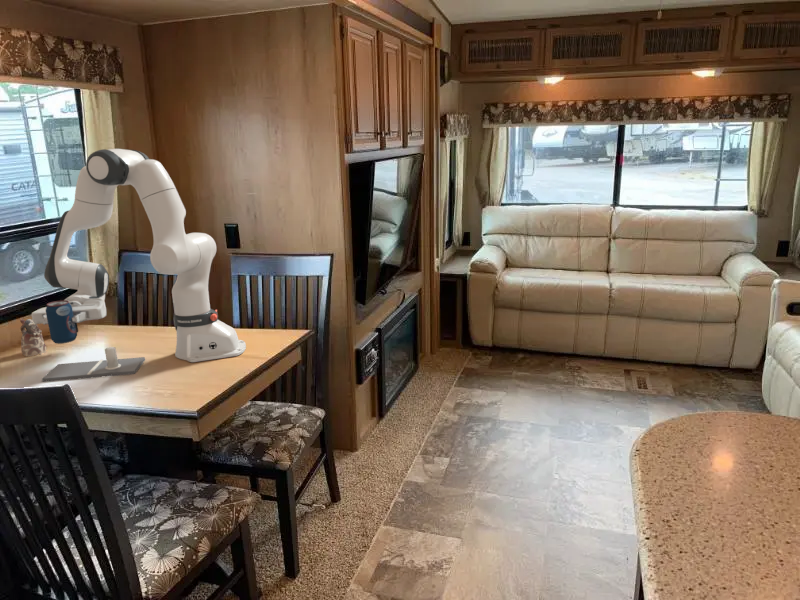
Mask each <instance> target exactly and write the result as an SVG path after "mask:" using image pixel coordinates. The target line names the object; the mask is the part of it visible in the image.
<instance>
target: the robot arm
mask: <svg viewBox="0 0 800 600" xmlns="http://www.w3.org/2000/svg"><path fill="white" fill-rule="evenodd" d="M128 185H129V186H132V187H133V188H134V189H135V191H136V193H137V195H138V197H139V200H140V202H141V204H142V207H143V208H144V211H145V213H146V215H147V218H148V220H149V223H150V225H151V226H150V227H151V230H152V237H153V238H152V240H153V245H152V247H151V248H152V249H151V251H150V254H149V258H150V260H149V261H150V264H151V266H152V267H153V269H154V270H155V271H156V272H158V273H159V274H160V275H161V274H162V275H177V276H176V281H175V283H174V284H173V286H172V288H171V294H172V295H171V296H172V303H173V310H174V313H173V325H174V329H175V332H176V346H175V354H174V356H175V358H177V359H179V360H185V361H187V362H190V363H196V362H198V363H199V362H204V361H210V360H216V359H217V360H218V359H223V358H232V357H238V356H240V355H241V354H243V353H245V351H246V348H247V345H246V344H247V343H246V341H244V340H243V339H239V337H238V333H237V331H236V329H235V328H233V327H232V326H230V325H228V324H226V323H225V322H223V321H221V320H220V319H219V314H218V309H215V310H214V309H213V308H211V304H210V292H209V280H210V273H211V266H212V263H213V260H214V259H215V257H216V253H217V248H218V247H217V244H216V241H215V239H214V238H213V237H212V236H211V235H209V234H208V233H205V232H190V233H186V231H185V224H184V223H185V218H186V216H187V215H186V214H187V210H186V207H185V205H184V203H183V201H182V198H181V196H180V195H179V192H178V189H177V188H176V185H175V183H174V181H173V180H172V178H171V177H170V174H169V172H168V171H167V169H165V167H164V166H163V164H162V163H161V162H160V161H159V160H156V159H153V158H152V159H151V158H149V156H148V155H146V154H145V153H144V152H142V151H140V150H136V149H124V148H108V149H106V148H105V149H103V148H102V149H99V150H96V151H94V152H91V153H90V154H89V156H88V157H87V158H86V163H85V165H84V166H83V167H82V168H81V169H80V171H79V174H78V176H77V181H76V185H75V193H74V200H73V201H74V202H73V205H72V206H71V207H70V209H69V210H66V211H64V212H63V214H62V215H61V217H60V219H59V221H58V225H57V229H56V232H55V234H54V235H55V236H54V239H53V244H52V247H51V251H50V256H49V258H48V260H47V263H46V266H45V268H44V272H43V275H44V276H43V277H44V279H45V281H46V282H47V283H48V285H50V286H51V287H52V288H59V289H70V290H77V291H76V292H75V293H73V294H71V295H69V296H68V297H66V298H65V299H64V300H66V301H69V304H70V305H71V306H72V310H73V315H74V316H72V322H75V323H77V324H78V323H83V322H85V321H93V320H101V319H103V318H105V317H107V307H106V302H105V300H106V294H107V291H108V289H109V285H110V275H109V272H108V270H107V269H106V268H105V266H104V265H103V264H102V263H96V262H92V261H91V262H90V261H83V260H77V259H72V258H70V257H68V253H69V249H70V247H71V246H70V245H71V242H72V241H71V240H72V239H73V236H74V234H75V232H78V231H82V230H89V229H95V228H98V227H101V226H104V225H105V224H107V223H108V222H109V221H110V219H111V218H112V216H113V211H114V210H113V209H114V202H115V201H114V199H115V191H116V189H117V187H118V186H128ZM46 308H47V306H45V307H40V308H38V309H37V310H35V311H33V312H31V319H32V320H33V322H34V323H35V324H37V325H39V324H40V325H41V324H43V326H45V325H48V320H47V315H46Z"/></svg>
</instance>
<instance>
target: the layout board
mask: <svg viewBox="0 0 800 600" xmlns="http://www.w3.org/2000/svg"><path fill="white" fill-rule="evenodd" d="M104 354H105V359H106V360H104V359H99V360H93V361H92V360H91V361H81V362H78V361H77V362H69V363H68V362H67V363H57V365H56V366H55V367H53V368H52V369H51V370H50V371H49V372H48V373H47V374H46V375H44V376H43V377H42V379H41V381H42V382H43V383H46V382H55V381H68V380H69V379H70V380H79V379H78V378H81V379H91V377H93V378H102V376H105V377H114V376H125V375H127V376H128V375H136V373H137V371H138V370H139V369H140V368H141V367H142V366H143V364H144V362H145V361H146V358H145V357H144V356H141V357H129V358H118V355H117V350H116V347H115V346H109V347H106V348H104Z"/></svg>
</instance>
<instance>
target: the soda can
mask: <svg viewBox="0 0 800 600" xmlns="http://www.w3.org/2000/svg"><path fill="white" fill-rule="evenodd" d="M46 307H47V308H46V315H47V320H48V324H47V325H48V329H49V336H50V340H51V341H52V342H53V343H54V344H56V345H57V344H58V345H61V344H63V345H65V344H68V343H72V342H74V341H75V340H76V339H77V336H78V332H77V331H76V326H75V322H72V316H74V315H73V310H72V306H71V305H70V304H69V301H66V300H65V299H63V300H62V299H61V300H56V301H51V302H48V303H46Z"/></svg>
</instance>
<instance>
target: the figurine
mask: <svg viewBox="0 0 800 600" xmlns="http://www.w3.org/2000/svg"><path fill="white" fill-rule="evenodd" d="M20 323H21V324H22V325H21V326H20V333H22V335H21V342H20V345H21V347H20V348H21V353H22V355H23V356H24V355H25V356H24V357H33V356H34V355H35V356H39V355H38V354H40V355H43V354H45V353H46V352H47V351H46V350H48V348H47V345H46V343H45V340H44V338H43V334H42V329H40V327H39V326H38V324H35V323H34V322H33V320H32V318H28V319H26V320H25V319H24V318H21V319H20ZM42 353H43V354H42ZM35 356H34V357H35Z"/></svg>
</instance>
